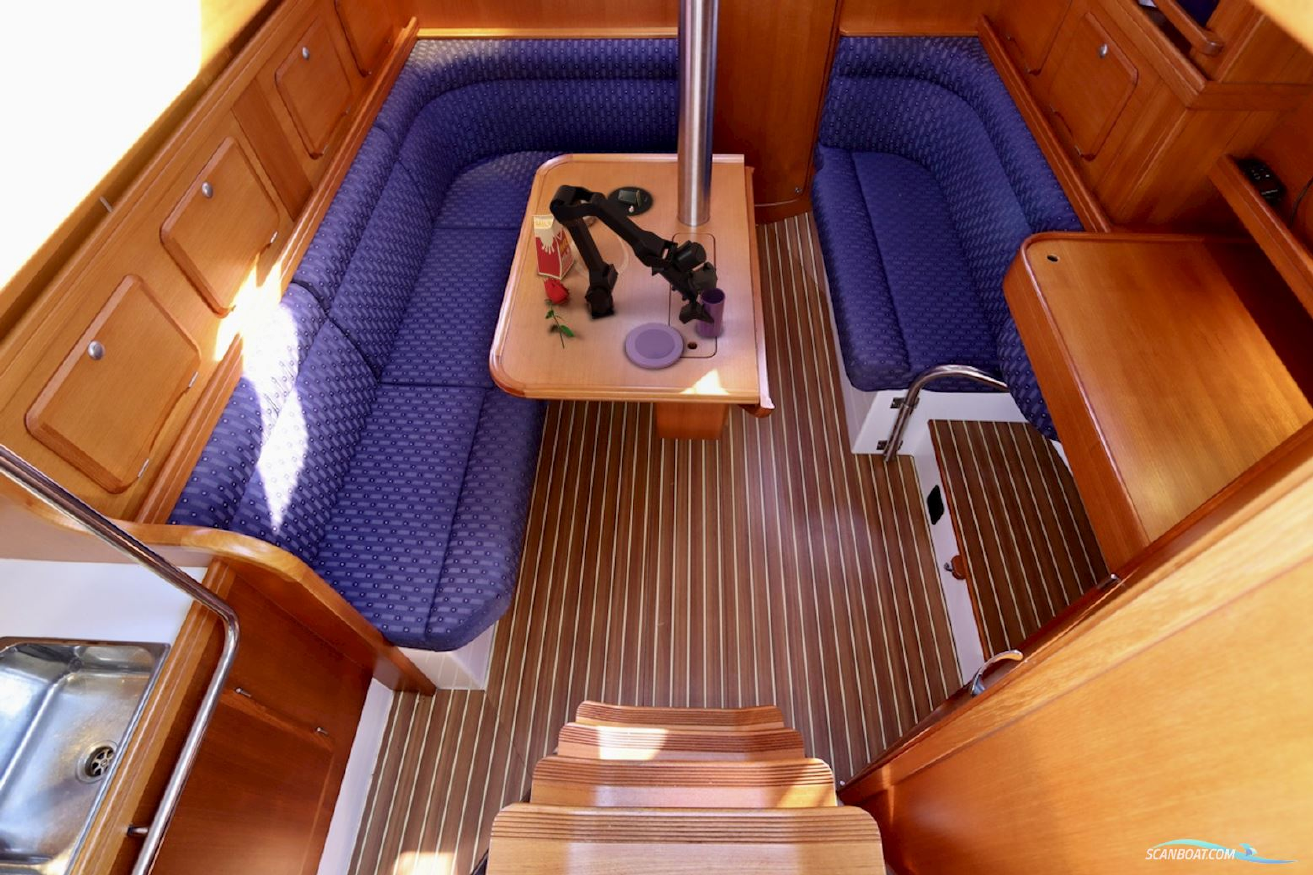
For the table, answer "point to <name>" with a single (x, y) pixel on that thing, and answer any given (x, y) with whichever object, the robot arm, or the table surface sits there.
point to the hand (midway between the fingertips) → (715, 313)
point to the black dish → (630, 200)
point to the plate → (654, 345)
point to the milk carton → (551, 247)
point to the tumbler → (712, 312)
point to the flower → (557, 301)
